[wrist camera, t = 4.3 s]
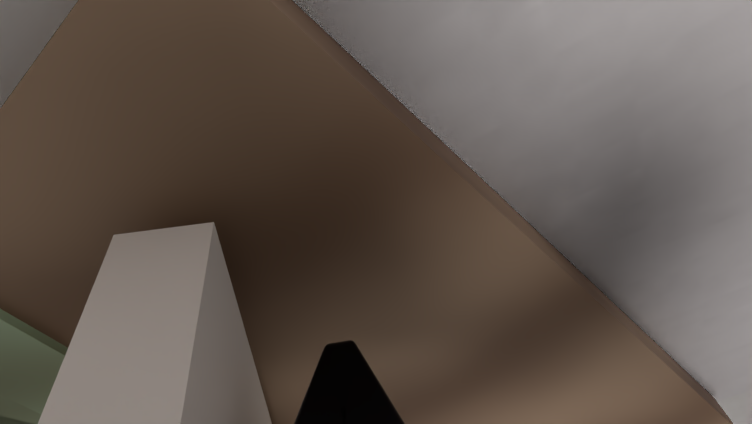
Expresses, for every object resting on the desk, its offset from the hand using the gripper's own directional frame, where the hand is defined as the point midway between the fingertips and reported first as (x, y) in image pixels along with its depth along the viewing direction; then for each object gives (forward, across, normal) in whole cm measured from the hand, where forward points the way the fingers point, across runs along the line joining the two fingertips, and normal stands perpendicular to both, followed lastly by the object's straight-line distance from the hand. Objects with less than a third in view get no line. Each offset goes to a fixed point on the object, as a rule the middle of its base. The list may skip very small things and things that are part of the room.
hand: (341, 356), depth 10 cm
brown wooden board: (+3, +3, +7) cm, 8 cm away
